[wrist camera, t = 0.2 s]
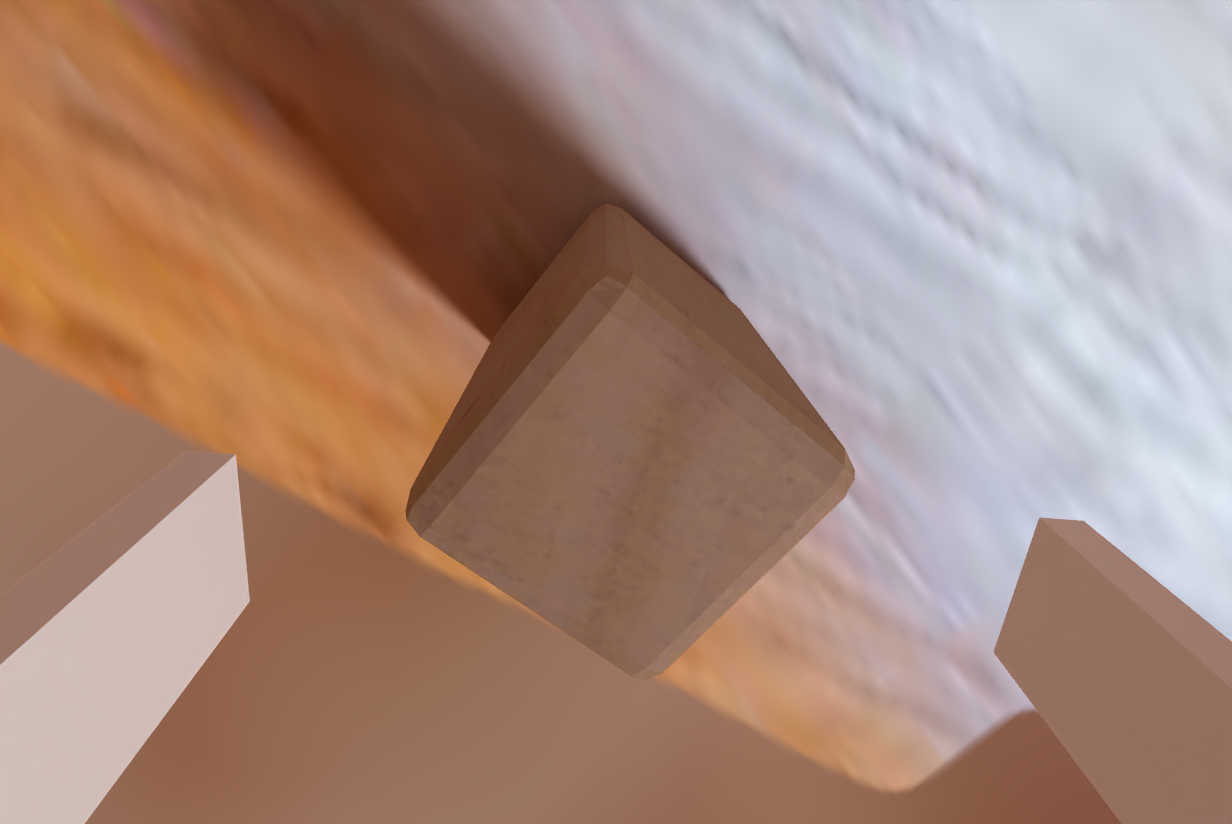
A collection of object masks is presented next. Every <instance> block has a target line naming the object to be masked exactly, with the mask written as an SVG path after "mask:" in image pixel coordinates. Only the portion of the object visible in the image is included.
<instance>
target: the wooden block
mask: <svg viewBox="0 0 1232 824" xmlns="http://www.w3.org/2000/svg"><path fill="white" fill-rule="evenodd" d="M854 473H855V470H854V468H853V465H852V463H851V461H850V459H849V457H848V454H847V452H846V450H845V448H844V447H843V446H842V444H841V443H840V442H839V440H838V439H837V438H836V436H835V435H834V434H833V432H832V431H831V430H830V428H829V427H828V426H827V424H826V423H825V422H824V420H823V419H822V418H821V416H820V415H819V414H818V412H817V411H816V410H815V408H814V407H813V406H812V404H811V403H810V402H809V400H808V399H807V398H806V396H805V395H804V394H803V392H802V391H801V390H800V388H799V387H798V386H797V384H796V383H795V382H794V380H793V379H792V378H791V376H790V375H789V374H788V372H787V371H786V370H785V368H784V367H783V366H782V364H781V363H780V362H779V360H778V359H777V358H776V356H775V355H774V354H773V352H772V351H771V350H770V348H769V347H768V346H767V344H766V343H765V342H764V340H763V339H762V338H761V336H760V335H759V334H758V332H757V331H756V330H755V328H754V327H753V326H752V324H751V323H750V322H749V320H748V319H747V318H746V316H745V315H744V314H743V312H742V311H741V310H740V309H739V308H738V307H737V306H736V305H735V304H734V303H732V302H731V301H730V300H729V299H728V298H726V297H725V296H724V295H723V294H722V293H721V292H719V291H718V290H717V289H716V288H715V287H714V286H712V285H711V284H710V283H709V282H708V281H707V280H705V279H704V278H703V277H702V276H701V275H699V274H698V273H697V272H696V271H695V270H694V269H692V268H691V267H690V266H689V265H688V264H687V263H685V262H684V261H683V260H682V259H681V258H680V257H678V256H677V255H676V254H675V253H674V252H672V251H671V250H670V249H669V248H668V247H667V246H665V245H664V244H663V243H662V242H661V241H660V240H658V239H657V238H656V237H655V236H654V235H653V234H651V233H650V232H649V231H648V230H647V229H645V228H644V227H643V226H642V225H641V224H640V223H638V222H637V221H636V220H635V219H634V218H633V217H631V216H630V215H629V214H628V213H627V212H626V211H624V210H623V209H622V208H621V207H617V206H614V205H611V204H608V203H605V204H603V205H601V206H600V207H598V208H596V209H594V210H592V212H591V213H590V214H589V215H588V217H587V218H586V219H585V220H584V222H583V223H582V224H581V226H580V227H579V228H578V229H577V231H576V232H575V233H574V234H573V236H572V237H571V238H570V239H569V241H568V242H567V243H566V245H565V246H564V247H563V248H562V250H561V251H560V252H559V253H558V255H557V256H556V257H555V259H554V260H553V261H552V262H551V264H550V265H549V266H548V267H547V269H546V270H545V271H544V273H543V274H542V275H541V276H540V278H539V279H538V280H537V281H536V283H535V284H534V285H533V287H532V288H531V289H530V290H529V292H528V293H527V294H526V295H525V297H524V298H523V299H522V300H521V302H520V303H519V304H518V306H517V307H516V308H515V309H514V311H513V312H512V313H511V314H510V316H509V317H508V318H507V320H506V321H505V322H504V323H503V325H502V326H501V327H500V328H499V330H498V331H497V332H496V334H495V336H494V338H493V339H492V341H491V343H490V345H489V347H488V349H487V350H486V352H485V354H484V356H483V358H482V359H481V361H480V363H479V365H478V367H477V369H476V370H475V372H474V374H473V376H472V378H471V380H470V381H469V383H468V385H467V387H466V389H465V391H464V392H463V394H462V396H461V398H460V400H459V402H458V403H457V405H456V407H455V409H454V411H453V413H452V414H451V416H450V418H449V420H448V422H447V424H446V425H445V427H444V429H443V431H442V433H441V435H440V436H439V438H438V440H437V442H436V444H435V446H434V447H433V449H432V451H431V453H430V455H429V456H428V458H427V460H426V462H425V464H424V466H423V467H422V469H421V471H420V473H419V475H418V477H417V478H416V480H415V482H414V484H413V486H412V488H411V490H410V494H409V499H408V503H407V507H406V518H407V521H408V522H409V523H410V525H411V526H412V527H413V528H414V530H415V531H416V532H417V533H418V535H419V536H420V537H421V538H423V539H425V540H426V541H428V542H429V543H431V544H432V545H434V546H435V547H437V548H438V549H440V550H441V551H443V552H444V553H446V554H447V555H449V556H450V557H452V558H453V559H455V560H456V561H458V562H459V563H461V564H462V565H464V566H465V567H467V568H468V569H470V570H471V571H473V572H474V573H476V574H477V575H479V576H480V577H482V578H484V579H485V580H487V581H488V582H490V583H491V584H493V585H494V586H496V587H497V588H499V589H500V590H502V591H503V592H505V593H506V594H508V595H509V596H511V597H512V598H514V599H515V600H517V601H518V602H520V603H521V604H523V605H524V606H526V607H527V608H529V609H530V610H532V611H533V612H535V613H536V614H538V615H539V616H541V617H543V618H544V619H546V620H547V621H549V622H550V623H552V624H553V625H555V626H556V627H558V628H559V629H561V630H562V631H564V632H565V633H567V634H568V635H570V636H571V637H573V638H574V639H576V640H577V641H579V642H580V643H582V644H583V645H585V646H586V647H588V648H589V649H591V650H592V651H594V652H596V653H597V654H598V655H600V656H602V657H603V658H605V659H606V660H608V661H609V662H611V663H612V664H614V665H615V666H617V667H618V668H620V669H621V670H623V671H624V672H626V673H627V674H629V675H630V676H633V677H638V678H642V679H646V680H648V679H650V678H653V677H655V676H657V675H660V674H662V673H663V672H664V671H665V670H666V669H667V668H668V667H669V666H671V665H672V664H673V663H674V662H675V661H676V660H677V659H678V658H679V657H680V656H681V655H682V654H683V653H684V652H685V651H686V650H687V649H688V648H689V647H690V646H691V645H692V644H693V643H694V642H695V641H696V640H697V639H698V638H700V637H701V636H702V635H703V634H704V633H705V632H706V631H707V630H708V629H709V628H710V627H711V626H712V625H713V624H714V623H715V622H716V621H717V620H718V619H719V618H720V617H721V616H722V615H723V614H724V613H725V612H726V611H728V610H729V609H730V608H731V607H732V606H733V605H734V604H735V603H736V602H737V601H738V600H739V599H740V598H741V597H742V596H743V595H744V594H745V593H746V592H747V591H748V590H749V589H750V588H751V587H752V586H753V585H754V584H755V583H757V582H758V581H759V580H760V579H761V578H762V577H763V576H764V575H765V574H766V573H767V572H768V571H769V570H770V569H771V568H772V567H773V566H774V565H775V564H776V563H777V562H778V561H779V560H780V559H781V558H782V557H783V556H785V555H786V554H787V553H788V552H789V551H790V550H791V549H792V548H793V547H794V546H795V545H796V544H797V543H798V542H799V541H800V540H801V539H802V538H803V537H804V536H805V535H806V534H807V533H808V532H809V531H810V530H811V529H813V528H814V527H815V526H816V525H817V524H818V523H819V522H820V521H821V520H822V519H823V518H824V517H825V516H826V515H827V514H828V513H829V512H830V511H831V510H832V509H833V508H834V507H835V506H836V505H837V504H838V503H839V502H840V501H842V500H843V499H844V498H845V496H846V494H847V492H848V490H849V488H850V486H851V484H852V483H853V481H854Z"/></svg>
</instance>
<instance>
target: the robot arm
mask: <svg viewBox="0 0 1232 824" xmlns="http://www.w3.org/2000/svg"><path fill="white" fill-rule="evenodd" d="M249 601H250V600H249V589H248V578H247V568H246V557H245V547H244V537H243V526H242V516H241V505H240V494H239V484H238V473H237V463H236V454H223V453H210V452H197V451H185V452H184V453H182V454H181V455H180V456H178V457H177V458H176V459H174V460H173V461H172V462H171V463H169V464H168V465H167V466H165V467H164V468H163V469H162V470H160V471H159V472H158V473H156V474H155V475H154V476H153V477H151V478H150V479H149V480H147V481H146V482H145V483H144V484H142V485H141V486H140V487H138V488H137V489H136V490H135V491H133V492H132V493H131V494H129V495H128V496H127V497H126V498H124V499H123V500H122V501H120V502H119V503H118V504H116V505H115V506H114V507H113V508H111V509H110V510H109V511H108V512H106V513H105V514H104V515H102V516H101V517H100V518H98V519H97V520H96V521H95V522H93V523H92V524H91V525H90V526H88V527H87V528H86V529H84V530H83V531H82V532H81V533H79V534H78V535H77V536H75V537H74V538H73V539H71V540H70V541H69V542H68V543H66V544H65V545H64V546H63V547H61V548H60V549H59V550H57V551H56V552H55V553H53V554H52V555H51V556H50V557H48V558H47V559H46V560H44V561H43V562H42V563H41V564H40V565H38V566H37V567H35V568H34V569H33V570H32V571H30V572H29V573H28V574H27V575H25V576H24V577H23V578H21V579H20V580H19V581H17V582H16V583H15V584H14V585H12V586H11V587H10V588H8V589H7V590H6V591H5V592H3V593H2V594H1V595H0V824H85V822H86V821H87V820H88V818H89V817H90V815H91V814H92V813H93V811H94V810H95V808H96V807H97V806H98V805H99V803H100V802H101V801H102V799H103V798H104V797H105V795H106V794H107V793H108V791H109V790H110V788H111V787H112V786H113V785H114V783H115V782H116V780H117V779H118V778H119V776H120V775H121V774H122V772H123V771H124V770H125V768H126V767H127V766H128V764H129V763H130V762H131V760H132V759H133V758H134V756H135V755H136V754H137V752H138V751H139V750H140V748H141V747H142V745H143V744H144V743H145V741H146V740H147V739H148V737H149V736H150V735H151V733H152V732H153V731H154V729H155V728H156V727H157V725H158V724H159V723H160V721H161V720H162V719H163V717H164V716H165V715H166V713H167V712H168V710H169V709H170V708H171V706H172V705H173V704H174V702H175V701H176V700H177V698H178V697H179V696H180V694H181V693H182V691H183V690H184V689H185V687H186V686H187V685H188V683H189V682H190V681H191V680H192V678H193V677H194V675H195V674H196V673H197V671H198V670H199V669H200V667H201V666H202V665H203V663H204V662H205V661H206V659H207V658H208V657H209V655H210V654H211V652H212V651H213V650H214V649H215V647H216V646H217V644H218V643H219V642H220V640H221V639H222V638H223V636H224V635H225V634H226V632H227V631H228V630H229V628H230V627H231V626H232V624H233V623H234V622H235V620H236V619H237V618H238V616H239V615H240V613H241V612H242V611H243V610H244V608H245V607H246V605H247V604H248V603H249ZM994 653H995V655H996V656H997V657H998V659H999V660H1000V661H1001V663H1002V664H1003V665H1004V667H1005V668H1006V669H1007V671H1008V672H1009V673H1010V675H1011V676H1012V677H1013V679H1014V680H1015V681H1016V683H1017V684H1018V685H1019V687H1020V688H1021V689H1022V691H1023V692H1024V693H1025V695H1026V696H1027V697H1028V699H1029V700H1030V701H1031V703H1032V704H1033V705H1034V707H1035V708H1036V709H1037V711H1038V712H1039V713H1040V715H1041V716H1042V717H1043V719H1044V720H1045V721H1046V723H1047V724H1048V725H1049V727H1050V728H1051V729H1052V731H1053V732H1054V733H1055V735H1056V736H1057V737H1058V739H1059V740H1060V742H1061V743H1062V744H1063V745H1064V747H1065V748H1066V749H1067V751H1068V752H1069V754H1070V755H1071V756H1072V758H1073V759H1074V760H1075V761H1076V763H1077V764H1078V766H1079V767H1080V768H1081V770H1082V771H1083V772H1084V773H1085V775H1086V776H1087V778H1088V779H1089V780H1090V782H1091V783H1092V784H1093V786H1094V787H1095V788H1096V790H1097V791H1098V792H1099V794H1100V795H1101V796H1102V798H1103V799H1104V800H1105V802H1106V803H1107V804H1108V806H1109V807H1110V808H1111V810H1112V811H1113V812H1114V814H1115V815H1116V816H1117V818H1118V819H1119V820H1120V822H1121V823H1122V824H1232V642H1231V641H1230V640H1229V639H1228V638H1227V637H1225V636H1224V635H1223V634H1222V633H1220V632H1219V631H1218V630H1217V629H1216V628H1214V627H1213V626H1212V625H1211V624H1209V623H1208V622H1207V621H1206V620H1204V619H1203V618H1202V617H1201V616H1200V615H1198V614H1197V613H1196V612H1195V611H1193V610H1192V609H1191V608H1190V607H1189V606H1187V605H1186V604H1185V603H1184V602H1182V601H1181V600H1180V599H1179V598H1177V597H1176V596H1175V595H1174V594H1173V593H1171V592H1170V591H1169V590H1168V589H1166V588H1165V587H1164V586H1163V585H1162V584H1160V583H1159V582H1158V581H1157V580H1155V579H1154V578H1153V577H1152V576H1150V575H1149V574H1148V573H1147V572H1146V571H1144V570H1143V569H1142V568H1141V567H1139V566H1138V565H1137V564H1136V563H1135V562H1133V561H1132V560H1131V559H1130V558H1128V557H1127V556H1126V555H1125V554H1123V553H1122V552H1121V551H1120V550H1119V549H1117V548H1116V547H1115V546H1114V545H1112V544H1111V543H1110V542H1109V541H1108V540H1106V539H1105V538H1104V537H1103V536H1101V535H1100V534H1099V533H1098V532H1096V531H1095V530H1094V529H1093V528H1092V527H1090V526H1089V525H1088V524H1087V523H1085V522H1084V521H1077V520H1064V519H1051V518H1039V521H1038V523H1037V526H1036V529H1035V532H1034V535H1033V538H1032V541H1031V544H1030V547H1029V550H1028V553H1027V556H1026V559H1025V562H1024V564H1023V567H1022V570H1021V573H1020V576H1019V579H1018V582H1017V585H1016V588H1015V591H1014V594H1013V597H1012V600H1011V603H1010V605H1009V608H1008V611H1007V614H1006V617H1005V620H1004V623H1003V626H1002V629H1001V632H1000V635H999V638H998V641H997V644H996V646H995V649H994Z"/></svg>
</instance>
